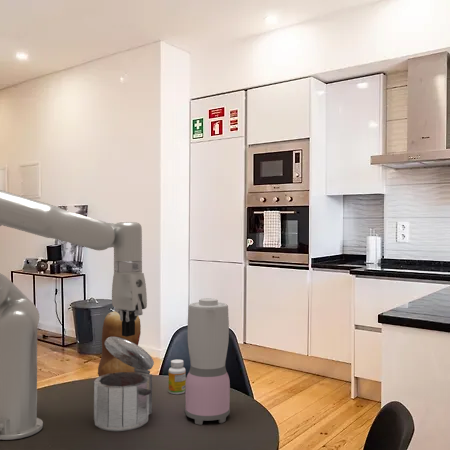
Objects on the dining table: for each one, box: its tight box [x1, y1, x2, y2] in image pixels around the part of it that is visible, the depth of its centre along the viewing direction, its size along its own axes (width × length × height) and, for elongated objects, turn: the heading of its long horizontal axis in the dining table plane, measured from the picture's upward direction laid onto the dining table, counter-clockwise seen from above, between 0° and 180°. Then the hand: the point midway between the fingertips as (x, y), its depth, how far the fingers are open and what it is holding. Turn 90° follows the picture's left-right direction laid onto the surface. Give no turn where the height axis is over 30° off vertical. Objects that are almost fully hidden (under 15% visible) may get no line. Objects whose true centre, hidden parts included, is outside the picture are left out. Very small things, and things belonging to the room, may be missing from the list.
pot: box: [93, 372, 153, 432], centre depth 134 cm, size 16×18×11 cm
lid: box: [105, 337, 155, 374], centre depth 136 cm, size 16×15×2 cm
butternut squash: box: [97, 310, 142, 377], centre depth 158 cm, size 14×13×25 cm
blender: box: [184, 298, 231, 426], centre depth 138 cm, size 16×12×32 cm
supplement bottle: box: [167, 359, 187, 395], centre depth 157 cm, size 5×5×10 cm
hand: (128, 335), depth 135 cm, fingers closed
